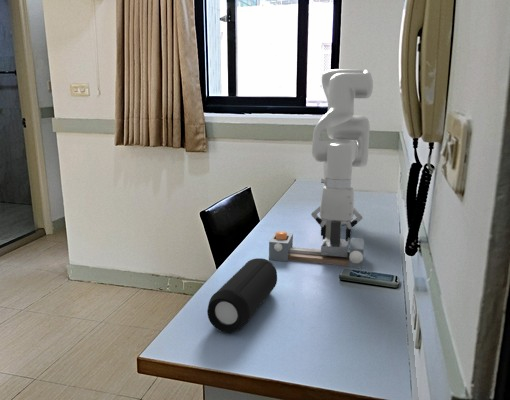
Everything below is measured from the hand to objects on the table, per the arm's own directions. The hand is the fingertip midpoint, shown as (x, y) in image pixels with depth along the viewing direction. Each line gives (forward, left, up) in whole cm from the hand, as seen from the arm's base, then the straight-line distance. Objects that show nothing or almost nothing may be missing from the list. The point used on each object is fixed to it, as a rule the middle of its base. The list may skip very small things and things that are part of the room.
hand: (335, 238), depth 146 cm
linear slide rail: (0, -6, -7) cm, 9 cm away
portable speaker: (+39, -19, -8) cm, 44 cm away
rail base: (0, -6, -7) cm, 9 cm away
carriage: (0, 0, -4) cm, 4 cm away
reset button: (0, -17, -4) cm, 18 cm away
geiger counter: (-20, -3, -7) cm, 22 cm away
